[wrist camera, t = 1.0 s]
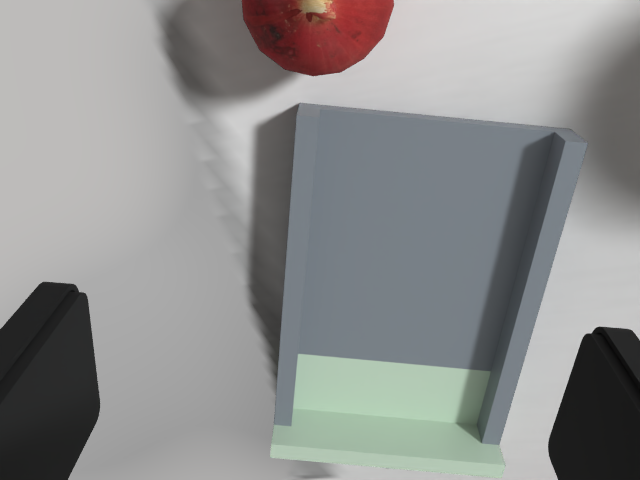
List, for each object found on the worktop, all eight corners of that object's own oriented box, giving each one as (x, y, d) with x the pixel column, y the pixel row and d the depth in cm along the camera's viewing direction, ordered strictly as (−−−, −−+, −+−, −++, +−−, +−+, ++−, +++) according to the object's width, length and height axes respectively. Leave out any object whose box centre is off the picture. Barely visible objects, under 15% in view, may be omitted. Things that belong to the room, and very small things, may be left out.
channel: (299, 102, 29) (294, 124, 25) (570, 129, 29) (601, 153, 25) (276, 410, 37) (270, 457, 34) (486, 429, 37) (501, 478, 34)
